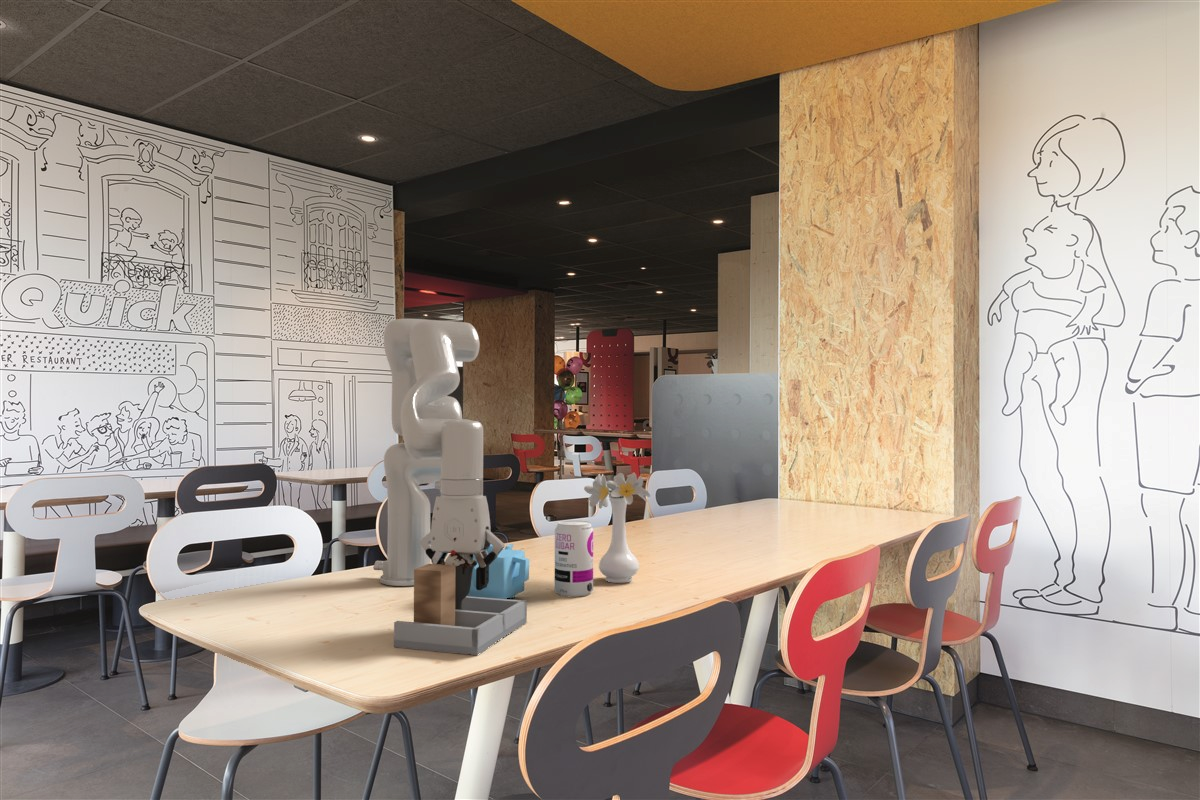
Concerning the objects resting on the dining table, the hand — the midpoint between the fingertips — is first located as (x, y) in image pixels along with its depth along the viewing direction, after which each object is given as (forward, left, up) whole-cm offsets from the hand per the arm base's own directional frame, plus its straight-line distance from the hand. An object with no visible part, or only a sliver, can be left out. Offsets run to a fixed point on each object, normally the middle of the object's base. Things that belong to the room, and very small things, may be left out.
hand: (461, 586), depth 137 cm
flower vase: (+16, +45, -7) cm, 48 cm away
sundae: (0, -1, -6) cm, 6 cm away
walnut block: (0, -10, -6) cm, 11 cm away
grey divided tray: (+3, -5, -7) cm, 9 cm away
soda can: (+11, +30, -7) cm, 33 cm away
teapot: (-3, +20, -7) cm, 22 cm away
